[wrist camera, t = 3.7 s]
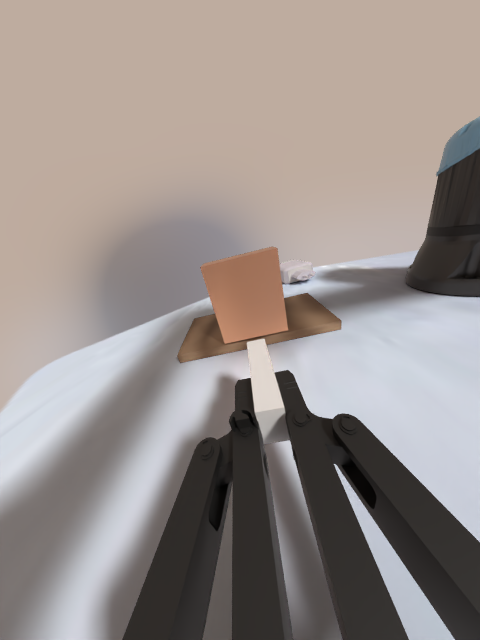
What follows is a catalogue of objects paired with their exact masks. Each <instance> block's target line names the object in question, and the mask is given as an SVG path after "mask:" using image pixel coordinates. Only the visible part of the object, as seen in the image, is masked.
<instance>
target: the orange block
mask: <svg viewBox="0 0 480 640" xmlns="http://www.w3.org/2000/svg"><path fill="white" fill-rule="evenodd" d="M200 268H201V271H202V274H203V277H204V280H205V283H206V286H207V290H208V293H209V296H210V299H211V302H212V305H213V309H214V312H215V315H216V318H217V321H218V324H219V327H220V330H221V334H222V337H223V340H224V343H225V344H226V343H231V342H236V341H240V340H245V339H250V338H254V337H259V336H264V335H268V334H273V333H278V332H282V331H287V330H288V325H287V318H286V310H285V303H284V295H283V287H282V280H281V272H280V265H279V258H278V250H277V248H276V247H269V248H265V249H261V250H257V251H253V252H249V253H244V254H240V255H237V256H232V257H228V258H224V259H220V260H216V261H212V262H208V263H205V264H203V265H202V266H201V267H200Z"/></svg>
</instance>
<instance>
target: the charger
mask: <svg viewBox="0 0 480 640" xmlns="http://www.w3.org/2000/svg"><path fill="white" fill-rule="evenodd" d="M279 265H280V272H281V280H282V282H283V283H285V284H290V283H294V282H297V281H300V280H302V281H304V280H307V279H310V278H311V277H312V276H314V275H315V273H316V272H314V271H313V267H312V263H311V262H305V261H300V260H291V261H287V262H283V263H280V264H279Z"/></svg>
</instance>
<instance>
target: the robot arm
mask: <svg viewBox="0 0 480 640" xmlns="http://www.w3.org/2000/svg"><path fill="white" fill-rule="evenodd" d="M436 176H438V180H437V185H436V190H435V195H434V200H433V204H432V209H431V214H430V219H429V223H428V229H427V234H426V238H425V241H424V243H423V244H422V246H421V248H420V250H419V251H418V253H417V255H416V257H415V260H414V262H413V264H412V265H410V266H409V268H408V270H407V274H406V280H405V281H406V283H407V284H408V285H409V286H411V287H413V288H416V289H419V290H423V291H427V292H433V293H440V294H449V295H463V296H480V117H478V118H476V119H475V120H473V121H471V122H470V123H468V124H467V125H465V126H464V127H462V128H461V129H460V130H458V131H457V132H456V133H455V134H454V135H453V136H452V137H451V138H450V139H449V141H448V142H447V144H446V146H445V148H444V152H443V156H442V160H441V164H440V168H439V171H438V172H437V174H436ZM247 350H248V358H249V367H250V375H251V378H247V379H242V380H238V381H237V384H236V386H235V411H234V412H233V413H232V415H231V416H230V419H229V423H230V426H231V428H232V430H231V431H230V432H229V433H228V434H227V435H225V436H223V437H222V438H220V439H218V440H216V439H215V438H212V437H210V438H206V439H204V440H202V441H201V442H200V443H199V444H198V445H197V447H196V449H195V451H194V454H193V456H192V459H191V462H190V464H189V467H188V469H187V472H186V475H185V477H184V480H183V482H182V485H181V488H180V490H179V493H178V496H177V498H176V501H175V503H174V506H173V509H172V511H171V514H170V517H169V519H168V522H167V524H166V527H165V530H164V532H163V535H162V537H161V540H160V543H159V545H158V548H157V551H156V553H155V556H154V558H153V561H152V564H151V566H150V569H149V571H148V574H147V577H146V579H145V582H144V585H143V587H142V590H141V592H140V595H139V598H138V600H137V603H136V606H135V608H134V611H133V613H132V616H131V619H130V621H129V624H128V626H127V629H126V632H125V634H124V637H123V640H202V637H203V632H204V627H205V622H206V617H207V611H208V606H209V601H210V596H211V590H212V585H213V580H214V575H215V570H216V564H217V559H218V554H219V549H220V543H221V538H222V533H223V528H224V523H225V517H226V512H227V507H228V502H229V496H230V491H231V486H232V481H233V551H232V640H293V635H292V629H291V622H290V615H289V608H288V601H287V595H286V588H285V581H284V574H283V567H282V560H281V554H280V547H279V540H278V533H277V526H276V520H275V513H274V506H273V499H272V492H271V486H270V479H269V472H268V465H267V458H266V454H265V450H264V444H269V443H275V442H281V441H287V440H290V442H291V445H292V451H293V456H294V460H295V462H296V466H297V470H298V474H299V477H300V481H301V485H302V489H303V492H304V496H305V500H306V504H307V507H308V511H309V515H310V519H311V522H312V526H313V530H314V534H315V537H316V541H317V545H318V549H319V552H320V556H321V560H322V564H323V567H324V571H325V575H326V579H327V582H328V586H329V590H330V594H331V597H332V601H333V605H334V609H335V612H336V616H337V620H338V624H339V628H340V631H341V635H342V639H343V640H409V639H408V636H407V634H406V632H405V629H404V627H403V625H402V622H401V620H400V618H399V615H398V613H397V611H396V608H395V606H394V604H393V601H392V599H391V597H390V594H389V592H388V590H387V587H386V585H385V583H384V581H383V578H382V576H381V574H380V571H379V569H378V567H377V564H376V562H375V560H374V557H373V555H372V553H371V550H370V548H369V546H368V543H367V541H366V539H365V536H364V534H363V532H362V529H361V527H360V525H359V522H358V520H357V518H356V515H355V513H354V511H353V508H352V506H351V504H350V501H349V499H348V497H347V494H346V492H345V490H344V487H343V485H342V483H341V480H340V478H339V476H338V473H337V471H336V469H335V466H334V464H336V465H337V466H338V468H339V469H340V471H341V472H342V474H343V475H344V476H345V478H346V479H347V481H348V482H349V484H350V485H351V487H352V488H353V490H354V491H355V493H356V494H357V496H358V497H359V499H360V500H361V502H362V503H363V504H364V506H365V507H366V509H367V510H368V512H369V513H370V515H371V516H372V518H373V519H374V521H375V522H376V524H377V525H378V527H379V528H380V530H381V531H382V532H383V534H384V535H385V537H386V538H387V540H388V541H389V543H390V544H391V546H392V547H393V549H394V550H395V552H396V553H397V555H398V556H399V558H400V559H401V560H402V562H403V563H404V565H405V566H406V568H407V569H408V571H409V572H410V574H411V575H412V577H413V578H414V580H415V581H416V583H417V584H418V585H419V587H420V588H421V590H422V591H423V593H424V594H425V596H426V597H427V599H428V600H429V602H430V603H431V605H432V606H433V608H434V609H435V611H436V612H437V613H438V615H439V616H440V618H441V619H442V621H443V622H444V624H445V625H446V627H447V628H448V630H449V631H450V633H451V634H452V636H453V637H454V639H455V640H480V542H479V541H478V540H477V539H476V538H475V537H474V536H473V535H472V534H471V533H470V532H469V531H468V530H467V529H466V528H465V527H464V526H463V525H462V524H461V523H460V522H459V521H458V520H457V519H456V518H455V517H454V516H453V515H452V514H451V513H450V512H449V511H448V510H447V509H446V508H445V507H444V506H443V505H442V504H441V503H440V502H439V501H438V500H437V499H436V498H435V497H434V496H433V495H432V493H431V492H430V491H429V490H428V489H427V488H426V487H425V486H424V485H423V484H422V483H421V482H420V481H419V480H418V479H417V478H416V477H415V476H414V475H413V474H412V473H411V472H410V471H409V470H408V469H407V468H406V467H405V466H404V465H403V464H402V463H401V462H400V461H399V460H398V459H397V458H396V457H395V456H394V455H393V454H392V453H391V452H390V451H389V450H388V449H387V448H386V447H385V446H384V445H383V444H382V443H381V442H380V441H379V440H378V439H377V438H376V437H375V436H374V435H373V433H372V432H371V431H370V430H369V429H368V428H367V427H366V426H365V425H364V424H363V423H362V422H361V421H360V420H358V419H357V418H356V417H354V416H352V415H349V414H338V415H336V416H335V417H334V418H333V419H328V418H322V417H318V416H316V415H314V414H313V413H311V412H310V411H309V410H308V408H307V406H306V404H305V401H304V399H303V397H302V394H301V392H300V390H299V387H298V385H297V382H296V380H295V378H294V375H293V374H292V373H291V372H290V371H289V370H286V371H281V372H276V373H274V370H273V366H272V363H271V359H270V356H269V353H268V349H267V346H266V342H265V339H259V340H254V341H250V342H247Z"/></svg>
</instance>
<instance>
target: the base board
mask: <svg viewBox="0 0 480 640" xmlns="http://www.w3.org/2000/svg"><path fill="white" fill-rule="evenodd" d="M284 303H285V310H286V318H287V325H288V330H287V331H282V332H278V333H273V334H268V335H264V336H259V337H254V338H250V339H245V340H240V341H236V342H231V343H226V344H225V343H224V340H223V337H222V334H221V330H220V327H219V324H218V321H217V318H216V315H215V314H212V315H208V316H204V317H199V318H195V319H194V320H193V322H192V325H191V327H190V329H189V331H188V333H187V335H186V337H185V340H184V342H183V344H182V346H181V348H180V350H179V353H178V355H177V357H178V359H179V361H180V363H183V362H187V361H192V360H197V359H202V358H206V357H211V356H216V355H221V354H225V353H230V352H235V351H240V350H244V349H247V342H250V341H254V340H259V339H265V342H266V345H268V344H273V343H278V342H282V341H287V340H292V339H297V338H301V337H306V336H311V335H316V334H320V333H325V332H330V331H335V330H339V329H341V320H340V319H339V318H337V317H336V316H335V315H334V314H333V313H331V312H330V311H329V310H328V309H326V308H325V307H324V306H323V305H321V304H320V303H319V302H318V301H317V300H315V299H314V298H313V297H312V296H310V295H309V294H308V293H305V294H300V295H296V296H292V297H287V298H284Z"/></svg>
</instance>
